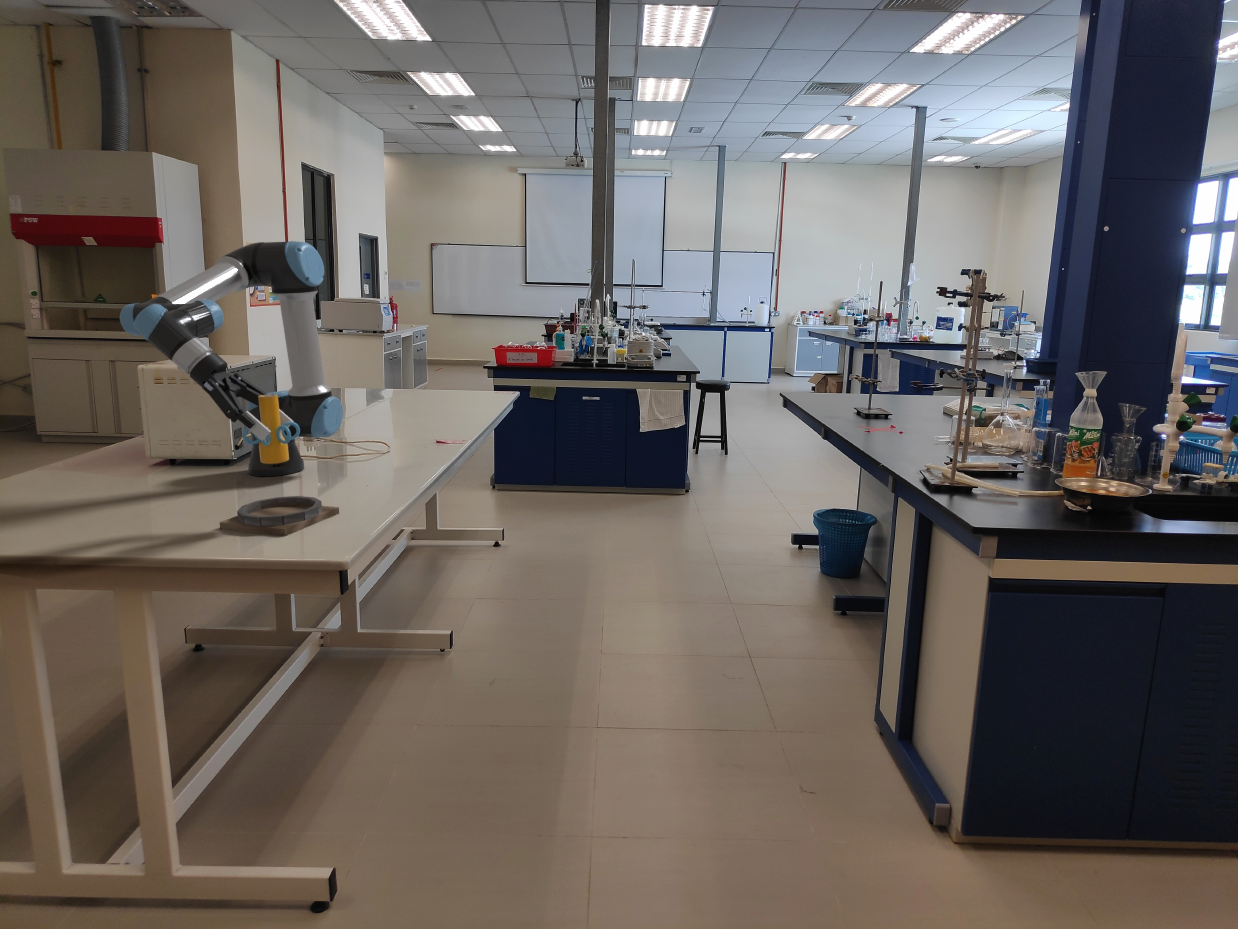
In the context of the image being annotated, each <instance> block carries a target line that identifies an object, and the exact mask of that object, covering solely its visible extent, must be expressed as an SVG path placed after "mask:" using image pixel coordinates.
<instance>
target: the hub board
mask: <svg viewBox="0 0 1238 929" xmlns="http://www.w3.org/2000/svg"><path fill="white" fill-rule="evenodd" d="M236 514H237V515H236V516H233V517H230V518H227V519H225V520H222V521H219V527H220V529H221V530H228V531H229V530H230V531H238V532H245V533H246V532H248V533H257V534H265V535H275V536H282V537H286V536H288V534H289V535H290V534H291V535H292V534H293V532H294V533H296V532H298V531H301V530H304V529H306V528H308V527H311V526H312V525H315V524H317V523H319V522H322V521H325V520H327V519H329V518H332V517H334V516H336V514H337V515H339V514H340V508H339V507H338V506H332V505H331V506H330V505H329V506H328V505H323V504H322V500H320V499H318V498H316V497H313V496H304V495H303V496H302V495H293V496H292V495H291V496H289V495H288V496H276V497H271V498H266V499H260V500H256V501H252V502H250V503H246V504H244V505H242V506H240V507H239V509H237V511H236ZM305 527H306V528H305Z"/></svg>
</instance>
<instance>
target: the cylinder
mask: <svg viewBox="0 0 1238 929" xmlns="http://www.w3.org/2000/svg"><path fill="white" fill-rule="evenodd" d="M258 399H259V408H260V417H261V423H262V424H263V425H264V426H265V427H267V428H268V429H269V430H270V431H271V432H270V433H269V435H268V436H267V437H266V438H265V439H264V440H263V441H261V440H260V439H259V438H258V437H257V436H256V435H254V436H255V437H256V439H257V440H255V441H252V440H250V439H249V438H248V437H247V434H248V432H249V431H250V430H249V429H248V428H246V427H245V428H244V429H243V431H242V439H243V441H244V442H245V443H247V444H248V445H252V444H257V443H259V442H260V443H259V452H260V461H261V463H265V464H275V463H282V462H286V461H288V460H289V453H288V444H287V443H289V442H290V440H294V439H295V440H296V439H297V438H298V436H299V434H300V428H299V426H298V425H297V424H296V423H294V422H286V423H285V424H283V425H281V421H280V412H279V402H278V395H260V396H258ZM288 425H293V426H294V427H295V428H296V434H295V435H294V436H292V437H291V433H290V430H289V429H288V427H286V426H288ZM284 430H285V431H286V433H287V436H286V435H285V433H284ZM285 439H286V440H285Z"/></svg>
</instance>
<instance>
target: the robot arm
mask: <svg viewBox="0 0 1238 929" xmlns="http://www.w3.org/2000/svg"><path fill="white" fill-rule="evenodd" d="M324 276H325V267H324V262H323V259H322V257H321V255H320V253H319V252H318V250H317V249H316V248H315V247H314V246H313V245H311V244H310V243H308V242H305V241H295V240H294V241H293V240H291V241H273V242H272V241H268V242H267V241H266V242H264V241H263V242H261V241H259V242H253V243H250V244H247V245H244V246H242V247H239V248H236V249H234V250H233V251H231V252H229V253H227V254H224V255H223V256H220V257H219V258H218V259H217V260H216V261H215V262H214V265H212V266H211V267H209V268H208V269H205V270H204V271H202V272H200V273H198V274H196V275H195V276H192V277H191V278H189V279H187V280H185V281H183V282H181V283H179V284H178V285H176V286H174V287H172V288H171V289H169V290H167V291H165V292H163V293H161V294H159V295H157V296H155V297H153V298H151V299H148V300H147V301H145V302H142V303H140V302H135V303H130V304H126V305H124V307H123V308H121V311H120V313H119V322H120V325H121V327H122V329H123V330H124V331H125V332H126V333H127V334H129V335H131V336H135V337H142V338H144V339H145V341H147V342H149V343H150V344H151V345H152V346H153V347H154V348H156V349H157V350H158V351H160V352H161V353H162V354H163V355H164V356H165V357H167V358H168V359H169V360H170V361H171V362H172V363H174V364H175V365H176V366H177V369H178V370H181V371H183V372H184V373H185V374H186V375H189V378H190V379H191V380H193V381H194V383H196V384H198V385H199V386H200V387H201V388H202V390H203V391H204V392H205V393H207V395H208V396H209V397H210V398H211V399H212V400H213V401H214V403H215V404H216V405H217V407H218V408H219V409H220V411H221V412H222V413H223V414H224V416H225V417H226V418H227V419H229V420H230V421H231V422H232V423H236V422H237V421H238V422H239V423H240V424H241V425H243V426H244V427H245V429H246V428H248V429H249V431H250V438H251V441H255V440H257V439H256V437H255V436H254V435H256V436H257V437H258V438H259V439H260V440H261V441H263V440H264V439H265V438H266V437H267V436H268V435H269V433H270V432H271V431H270V430H269V429H268V428H267V427H265V426H264V425H263V424H262V423H261V417H260V408H259V399H258V396H260V395H278V402H279V412H280V421H281V425H283V424H285V423H286V422H294V423H296V424H297V425H298V426H299V428H300V434H299V436H298V437H299V438H313V439H319V438H330V437H332V436H334V435H335V434H336V433H337V432H338V430H339V429H340V427H341V424H342V422H343V417H344V408H343V404H342V402H341V400H340V399H339V398H338V397H336V396H333V394H332V393H333V392H332V388H331V387H330V386H328V385H327V384H326V382H325V378H324V377H325V376H324V370H323V362H322V355H321V347H320V341H319V334H318V326H317V318H316V312H315V305H314V297H315V296H316V295H317V293H318V292H319V291H318V286H319V285H321V284H322V283H323V280H324ZM253 287H256V288H257V287H271V288H270V289H271V294H272V295H273V296H274V297H276V298H277V299H278V301H279V306H280V313H281V320H282V325H283V327H282V328H283V332H284V339H285V345H286V346H285V347H286V352H287V358H288V359H287V360H288V365H289V366H288V367H289V372H290V379H291V387H290V389H289V390H280V391H279V390H278V391H272V392H265V391H264V390H263V389H261V388H259V387H258V386H256V385H254V384H253V383H251V382H250V381H248V380H247V379H245V378H244V377H243V376H242V375H241V374H239V373H238V372H235V373H233V375H232V374H230V373H229V372H227V369H228V362H226V360H224V359H223V358H222V357H221V356H220V355H218V353H215V352H213V351H214V350H213V349H212V347H210V346H209V345H207V343H205V342H204V341H203V340H202V339H201V338H202V337H204V336H207V335H211V334H213V333H214V332H215V331H217V330H218V329H219V330H220V328H221V327H222V326H223V324H224V321H225V316H224V312H223V310H222V307H220V305H219V304H218V303H216V302H217V301H219V300H221V299H223V298H224V297H225V296H228V295H229V294H231V293H232V292H236V293H237V292H238V293H239V292H242V291H245V290H246V289H248V288H253ZM238 398H241V399H243V400H246V401H247V410H246V411H245V410H244V408H243V406H242V404H241V403H240V401H239V399H238ZM286 427H288V429H289V430H290V433H291V437H292V436H294V435H295V434H296V428H295V427H294V426H293V425H288V426H286ZM284 433H285V435H286V436H287V433H286V431H285V430H284ZM298 437H297V438H298ZM285 440H286V439H285ZM259 443H260V442H259ZM259 443H257V444H251V452H250V458H249V463H248V464H247V467H248V468H247V469H248V474H249V475H251V476H256V477H276V476H277V477H278V476H284V475H285V476H286V475H291V474H295V473H296V474H297V473H298V472H301V471H303V470H304V469H305V463H304V459H303V458H302V456H301V453H300V451H299V448H298V446H297V443H296V439H294V440H290V442H289V443H287V444H288V453H289V460H288V461H286V462H282V463H275V464H265V463H261V461H260V452H259Z"/></svg>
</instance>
